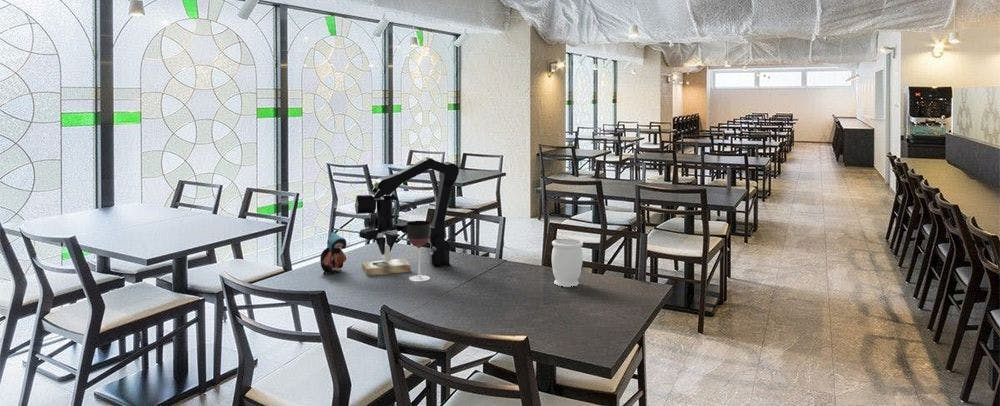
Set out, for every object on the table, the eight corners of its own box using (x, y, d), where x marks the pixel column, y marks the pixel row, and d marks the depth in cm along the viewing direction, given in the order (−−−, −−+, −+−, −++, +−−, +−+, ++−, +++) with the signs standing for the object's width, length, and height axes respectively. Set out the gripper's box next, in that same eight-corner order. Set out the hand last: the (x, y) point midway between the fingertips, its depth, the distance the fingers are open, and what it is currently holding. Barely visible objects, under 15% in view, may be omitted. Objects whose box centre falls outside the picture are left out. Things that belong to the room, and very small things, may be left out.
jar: (584, 281, 225) (585, 239, 223) (578, 290, 216) (579, 246, 213) (555, 278, 229) (556, 237, 226) (547, 286, 219) (548, 243, 216)
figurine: (331, 277, 229) (329, 236, 227) (317, 274, 233) (315, 233, 231) (351, 270, 238) (350, 231, 235) (338, 267, 241) (336, 228, 239)
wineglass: (435, 276, 231) (434, 221, 227) (422, 282, 223) (421, 226, 219) (416, 273, 234) (415, 219, 231) (403, 280, 226) (401, 224, 223)
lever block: (404, 264, 246) (403, 257, 246) (410, 271, 237) (410, 264, 236) (362, 268, 240) (361, 261, 240) (367, 275, 231) (366, 268, 230)
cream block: (386, 260, 241) (385, 243, 240) (390, 264, 236) (389, 246, 234) (370, 262, 239) (370, 244, 238) (374, 266, 233) (373, 248, 232)
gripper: (393, 206, 247) (393, 246, 250) (350, 212, 234) (351, 254, 237) (410, 210, 239) (411, 251, 242) (367, 216, 226) (368, 259, 229)
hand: (385, 253), depth 237 cm, fingers closed on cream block, 2 cm apart
